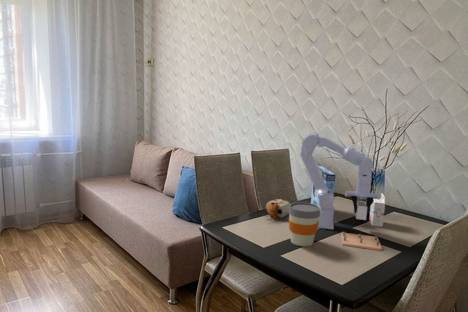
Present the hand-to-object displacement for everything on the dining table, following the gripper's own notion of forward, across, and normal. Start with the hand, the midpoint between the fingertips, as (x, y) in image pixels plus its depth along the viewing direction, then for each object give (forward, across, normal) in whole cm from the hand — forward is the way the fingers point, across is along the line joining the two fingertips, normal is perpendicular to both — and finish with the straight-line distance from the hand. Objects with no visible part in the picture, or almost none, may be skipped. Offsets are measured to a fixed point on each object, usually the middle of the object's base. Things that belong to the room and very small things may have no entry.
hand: (360, 213), depth 153 cm
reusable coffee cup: (+9, -24, -20) cm, 33 cm away
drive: (+2, 0, 0) cm, 2 cm away
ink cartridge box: (+9, +9, +14) cm, 19 cm away
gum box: (+9, -17, +21) cm, 28 cm away
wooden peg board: (+9, 0, -12) cm, 15 cm away
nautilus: (+9, -39, +6) cm, 41 cm away
